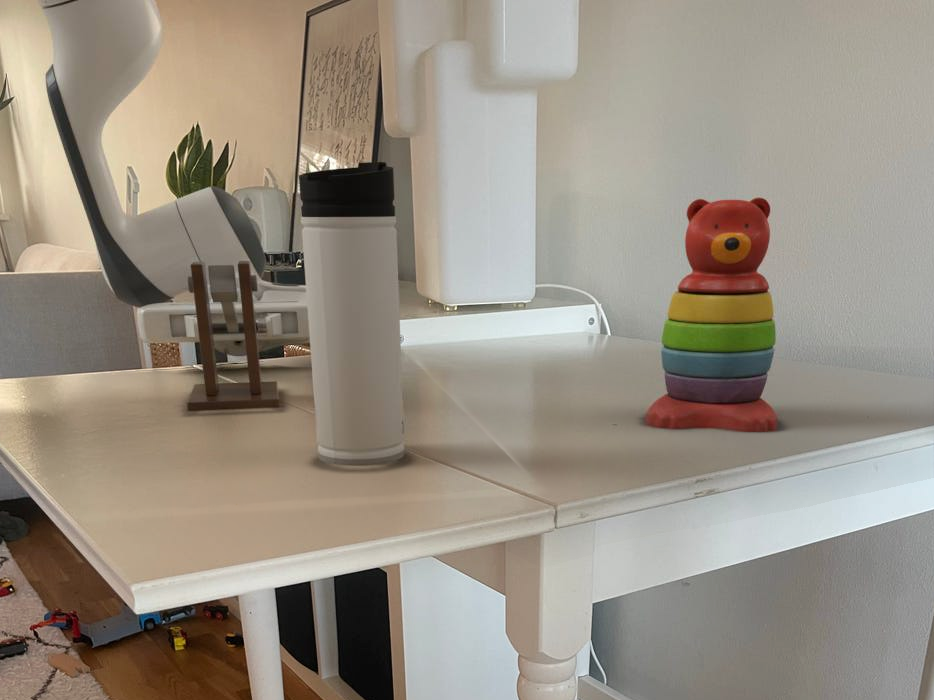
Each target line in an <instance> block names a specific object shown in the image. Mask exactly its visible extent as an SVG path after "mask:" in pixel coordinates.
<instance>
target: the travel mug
mask: <svg viewBox="0 0 934 700" xmlns="http://www.w3.org/2000/svg"><path fill="white" fill-rule="evenodd" d="M394 176H395V175H394V167H392V166H387V162H385V161H367V162H366V161H365V162H364V161H363V162H359V163H358V164H357V166H356V167H355V166H354V167H345V168H343V167H342V168H333V169H324V170H316V171H309V172H304V173H300V174H299V175H298V184H299V195H300V196H299V197H300V201H301V202H302V205H301V207H300V210H301V211H300V212H301V216H300V223H301V225H302V227H303V228H302V230H301V236H302V250H303V253H302V254H303V263H304V265H303V266H304V278H305V286H306V294H307V308H308V321H309V335H310V343H309V348H310V360H311V376H312V387H313V389H312V391H313V401H314V402H313V403H314V415H315V416H314V417H315V418H314V419H315V430H316V440H317V443H318V445H317V456H318V457H317V458H318V459H319V460H320V461H322V462H324V463H326V464H332V465H337V466H338V465H339V466H354V467H355V466H357V467H358V466H374V465H381V464H388V463H392V462H395V461H398V460H401V459H402V458H404V456H405V443H404V439H405V433H404V432H405V429H404V428H405V427H404V402H403V398H404V397H403V375H402V374H403V372H402V347H401V345H402V344H401V343H402V342H401V321H400V319H401V317H400V316H401V315H400V290H399V263H398V235H397V234H398V233H397V232H398V231H397V229H396V228H395V225H396V224H397V216H396V207H395V205H394V201H395V179H394V178H395V177H394Z"/></svg>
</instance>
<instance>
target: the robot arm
mask: <svg viewBox="0 0 934 700" xmlns="http://www.w3.org/2000/svg"><path fill="white" fill-rule="evenodd" d="M37 2H38V3H39V5H40V7H41V9H42V12H43V14H44V16H45V18H46V21H47V24H48V27H49V31H50V35H51V40H52V47H53V49H52V50H53V60H52V61H53V63H52V64H51V65H50V67H49V68H48V70H47V71H46V73H45V87H46V93H47V94H46V95H47V98H48V99H47V100H48V103H49V106H50V110H51V114H52V117H53V120H54V123H55V126H56V129H57V133H58V135H59V139H60V142H61V145H62V148H63V151H64V154H65V157H66V160H67V163H68V166H69V169H70V171H71V174H72V177H73V180H74V183H75V185H76V188H77V192H78V195H79V197H80V200H81V203H82V206H83V209H84V212H85V214H86V217H87V221H88V224H89V226H90V230H91V232H92V235H93V236H92V237H93V238H94V243H95V247H96V254H97V259H98V264H99V266H100V270H101V273H102V275H103V278H104V280H105V282H106V285H107V286H108V287H109V289H110V291H111V292H112V293H113V294H114V296H115V297H116V299H117V300H119V301H121V302H123V303H124V304H128V305H130V306H132V307H135V308H137V310H136V319H137V327H138V333H139V339H140V341H142V342H143V343H146V344H177V343H179V344H180V343H200V341H199V333H198V324H197V316H196V307H195V301H177V302H171V300H173V299H175V297H177V296H180V295H182V294H185V293H187V292H189V287H188V276H192V274H191V264H192V263H193V262H205V268H206V277H207V285H208V294H209V303H210V312H211V321H212V323H226V321H225V317H224V313H223V310H222V306H221V302H213V300H212V296H211V293H210V282H209V271H208V266H209V265H233V266H234V271H235V276H236V288H237V299H238V302H234V305H235V310H236V315H237V320H238V323H243V313H242V303H241V293H240V283H239V273H238V262H239V261H250V269H251V275H256V276H257V286H258V291H257V292H253V300H254V311H255V321H256V322H257V327H258V333H257V342H258V353H260V352H264V351H268V350H270V349H274V348H278V347H279V348H280V347H286V346H287V347H288V346H297V345H299V346H300V345H305V344H310V335H309V321H308V308H307V294H306V284H295V283H282V282H270V281H266V280H263V277H264V276H265V275H264V274H265V271H266V266H267V258H266V255H265V251H264V248H263V246H262V243H261V240H260V238H259V235H258V232H257V231H256V229H255V226H254V224H253V222H252V221H251V218H250V217H249V215H248V214H247V211H246V210H245V208H244V207H243V205H242V204H241V202H240V201H239V200H238V198H236V196H233V195H232V194H231V193H229V192H228V191H226V190H224V189H222V188H220V187H216V186H213V185H210V186H208V187H206V188H203V189H199V190H197V191H194V192H192V193H189V194H186V195H183V196H182V197H181V196H180V197H178V198H176V199H175V200H173V201H170V202H167V203H165V204H162V205H160V206H156V207H154V208H152V209H149V210H147V211H143V212H141V213H139V214H135V215H130V214H127V213H126V212H125V211H124V210H123V208H122V205H121V201H120V198H119V195H118V193H117V189H116V185H115V183H114V180H113V177H112V174H111V170H110V167H109V164H108V161H107V158H106V154H105V151H104V148H103V143H102V142H103V141H102V136H103V135H102V134H103V129H104V127H105V125H106V123H107V121H108V119H109V118H110V116H111V114H112V113H113V112H114V111H115V110H116V108H118V106H119V105H120V104H121V103H122V102H123V101H124V100H125V99H126V98H127V97H128V96H129V95H130V94H131V93H132V92H133V91H134V90H135V89H136V88H137V87H138V86H139V85H140V84H141V82H142V81H143V80H144V79H145V78H146V77H147V75H148V74H149V72H150V71H151V69H152V68H153V67H154V64H155V62H156V61H157V58H158V56H159V53H160V50H161V46H162V42H163V21H162V18H161V14H160V10H159V7H158V4H157V1H156V0H37ZM169 301H170V302H169ZM213 339H214V347H215V350H217V351H218V352H220V353H222V354H224V355H227V356H231V357H247V353H246V343H245V333H240V334H213Z"/></svg>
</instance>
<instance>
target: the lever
mask: <svg viewBox="0 0 934 700" xmlns="http://www.w3.org/2000/svg"><path fill="white" fill-rule="evenodd" d="M208 271H209V282H210V293H211V296H212V300H213V302H221V306H222V310H223V313H224V317H225V321H226V323H212V330H213V334H240V333H244V323H238V320H237V315H236V310H235V305H234V302H238V299H237V288H236V276H235V271H234V266H233V265H209V266H208ZM256 332H257V333H258V327H257V322H256Z"/></svg>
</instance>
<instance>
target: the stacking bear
mask: <svg viewBox="0 0 934 700" xmlns="http://www.w3.org/2000/svg"><path fill="white" fill-rule="evenodd" d="M770 214H771V205H770V203H769V202H768V200H766V199H765V198H763V197H754V198H752V199H751V200H749V201H748V200H743V199H719V200H715V201H712V202H709V201H707V200H706V199H704V198H696V199H694V200H693V201H692V202H691V203H690V204H689V205H688V207H687V210H686V217H687V220H688V226H687V228H686V231H685V239H684V240H685V241H684V246H685V254H686V258H687V261H688V264H689V266H690V268H691V269H692V271H691V273H690V274H687V275H686V276H685V277H683V278H682V279H681V281H680V282H679V284H678V286H677V291H675V292H674V293H672V297H671V300H670V303H669V307H668V311H667V319H666V320H665V322H664V326H663V331H662V337H661V345H662V347H661V349H660V352H661V363H662V369H663V370H664V382H665V388H666V392H667V393H666V394H664V395H662V396H661V397H659V398H658V399H657V400H655V401H654V402H653V403H652V404H651V405H650V407H649V408H648V410H647V413H646V418H645V419H646V420H645V424H646V425H647V426H650V427H654V428H658V429H670V430H681V429H682V430H683V429H698V428H699V429H700V428H702V429H705V428H707V429H721V430H730V431H735V432H736V431H737V432H744V433H752V432H753V433H754V432H755V433H766V432H772V431H775V430H777V426H778V418H777V414H776V412H775V410H774V408H773V407H772V406H771V405H770V404H769V403H768V402H767V401H766V400H765V399H763V398H762V397H761V396H762V395H763V392H764V389H765V387H766V383H767V380H768V377H769V376H768V375H769V374H768V372H769V371H770V370H771V367H772V363H773V360H774V354H775V348H774V346H775V344H776V342H777V341H776V338H777V337H776V336H777V335H776V322H775V320H774V319H773V318H774V304H773V299H772V295H771V292H770V291H769V289H770V285H769V282H768V280H767V279H766V277H765V276H764V275H763V274H761V273H759V272H758V269H759V267H760V266H761V265H762V263H763V261H764V260H765V257H766V254H767V252H768V249H769V245H770V240H771V239H770V238H771V229H770V223H769V220H768V218H769V217H770Z"/></svg>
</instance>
